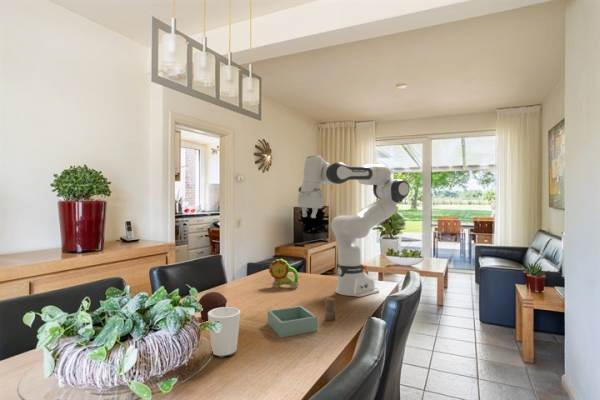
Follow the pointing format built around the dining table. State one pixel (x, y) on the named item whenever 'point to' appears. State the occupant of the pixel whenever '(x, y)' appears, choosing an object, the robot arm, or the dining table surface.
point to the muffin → (211, 303)
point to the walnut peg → (330, 309)
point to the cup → (225, 330)
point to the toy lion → (283, 274)
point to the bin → (292, 321)
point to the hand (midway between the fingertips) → (308, 217)
